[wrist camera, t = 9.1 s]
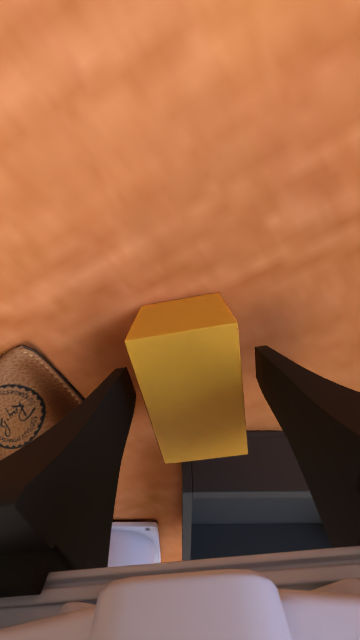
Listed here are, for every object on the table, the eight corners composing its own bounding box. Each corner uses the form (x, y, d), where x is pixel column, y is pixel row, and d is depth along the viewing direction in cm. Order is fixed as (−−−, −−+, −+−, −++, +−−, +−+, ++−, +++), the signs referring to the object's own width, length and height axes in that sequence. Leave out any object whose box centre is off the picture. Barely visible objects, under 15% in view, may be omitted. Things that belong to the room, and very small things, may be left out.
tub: (182, 520, 21) (182, 582, 17) (181, 431, 16) (182, 493, 12) (344, 519, 21) (379, 581, 17) (396, 430, 16) (463, 491, 12)
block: (168, 405, 15) (164, 464, 11) (140, 305, 12) (123, 341, 8) (230, 397, 14) (248, 454, 11) (219, 291, 11) (238, 322, 8)
